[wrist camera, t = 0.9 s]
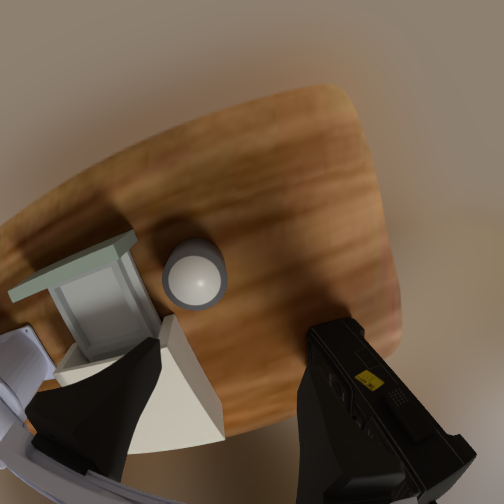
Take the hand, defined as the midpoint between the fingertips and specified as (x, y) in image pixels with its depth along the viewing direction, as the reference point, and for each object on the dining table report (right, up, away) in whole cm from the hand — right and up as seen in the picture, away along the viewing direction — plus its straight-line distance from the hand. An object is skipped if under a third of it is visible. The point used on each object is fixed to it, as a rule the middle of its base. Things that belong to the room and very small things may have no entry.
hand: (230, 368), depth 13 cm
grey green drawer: (-14, 0, +14) cm, 20 cm away
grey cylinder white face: (-4, +4, +14) cm, 16 cm away
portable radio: (+10, -5, +19) cm, 22 cm away
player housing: (-11, -9, +17) cm, 22 cm away
